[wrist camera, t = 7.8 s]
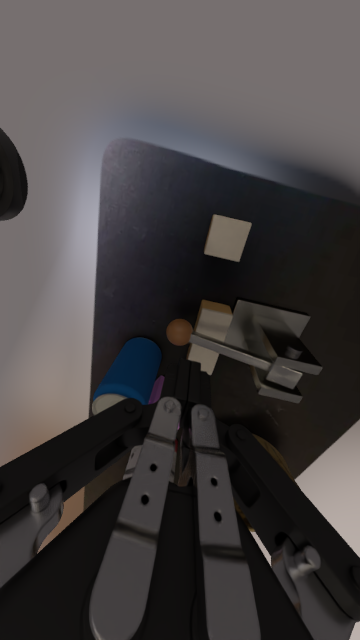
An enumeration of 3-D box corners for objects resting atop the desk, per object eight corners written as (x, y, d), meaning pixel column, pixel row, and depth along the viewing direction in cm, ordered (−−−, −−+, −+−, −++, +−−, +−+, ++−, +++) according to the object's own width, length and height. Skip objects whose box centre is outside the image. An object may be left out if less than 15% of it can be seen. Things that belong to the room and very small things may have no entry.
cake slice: (203, 249, 26) (204, 253, 22) (212, 215, 24) (214, 214, 21) (234, 257, 26) (238, 262, 22) (245, 222, 24) (251, 223, 21)
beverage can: (121, 360, 35) (85, 422, 24) (128, 329, 32) (91, 384, 21) (156, 371, 35) (137, 437, 24) (167, 342, 32) (150, 402, 22)
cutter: (219, 343, 32) (227, 398, 22) (236, 296, 28) (255, 337, 18) (281, 358, 32) (317, 418, 22) (306, 313, 28) (362, 361, 18)
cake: (186, 355, 33) (185, 369, 30) (202, 299, 29) (202, 309, 25) (210, 360, 33) (211, 375, 30) (229, 305, 29) (233, 316, 25)
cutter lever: (170, 333, 27) (160, 344, 24) (174, 311, 25) (164, 321, 22) (287, 376, 24) (291, 395, 21) (300, 354, 22) (306, 372, 19)
